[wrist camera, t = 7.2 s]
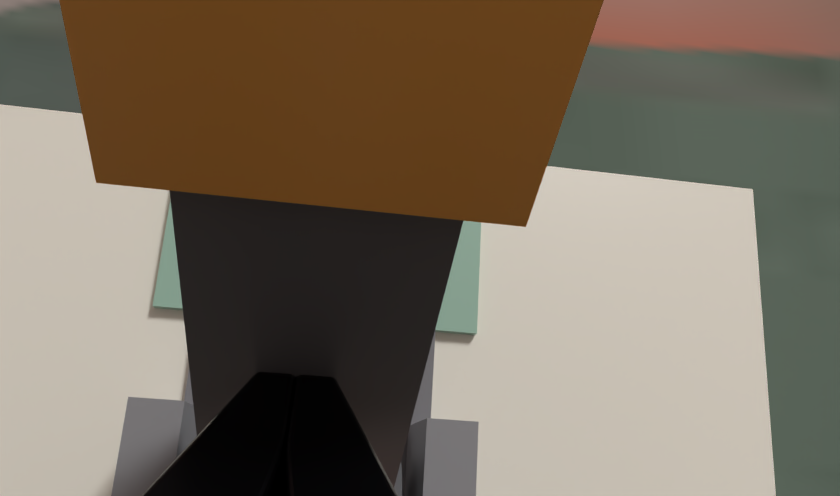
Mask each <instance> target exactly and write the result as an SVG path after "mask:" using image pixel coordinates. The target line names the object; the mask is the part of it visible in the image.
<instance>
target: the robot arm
mask: <svg viewBox="0 0 840 496" xmlns="http://www.w3.org/2000/svg"><path fill="white" fill-rule="evenodd" d="M141 496H398V494H397V493H396V491H395V489H394V487H393V485H392V483H391V481H390V480H389V478H388V476H387V474H386V472H385V470H384V468H383V466H382V465H381V463H380V461H379V459H378V457H377V455H376V453H375V452H374V450H373V448H372V446H371V444H370V442H369V440H368V438H367V437H366V435H365V433H364V431H363V429H362V427H361V425H360V424H359V422H358V420H357V418H356V416H355V414H354V412H353V410H352V409H351V407H350V405H349V403H348V401H347V399H346V397H345V396H344V394H343V392H342V390H341V388H340V386H339V384H338V383H337V381H336V379H335V378H333V377H327V376H314V375H299V376H298V377H297V378H296V379H295V377H294V376H293V375H291V374H286V373H271V372H258V373H256V374H255V375H253V377H252V378H251V379H250V380H249V381H248V382H247V383H246V384H245V385H244V386H243V387H242V388H241V389H240V390H239V392H238V393H237V394H236V395H235V396H234V397H233V398H232V399H231V400H230V401H229V402H228V403H227V404H226V405H225V407H224V408H223V409H222V410H221V411H220V412H219V413H218V414H217V415H216V416H215V417H214V418H213V419H212V420H211V422H210V423H209V424H208V425H207V426H206V427H205V428H204V429H203V430H202V431H201V432H200V433H199V434H198V435H197V437H196V438H195V439H194V440H193V441H192V442H191V443H190V444H189V445H188V446H187V447H186V448H185V449H184V450H183V451H182V453H181V454H180V455H179V456H178V457H177V458H176V459H175V460H174V461H173V462H172V463H171V464H170V465H169V466H168V468H167V469H166V470H165V471H164V472H163V473H162V474H161V475H160V476H159V477H158V478H157V479H156V480H155V481H154V483H153V484H152V485H151V486H150V487H149V488H148V489H147V490H146V491H145V492H144V493H143V494H142V495H141Z"/></svg>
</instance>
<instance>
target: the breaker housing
mask: <svg viewBox="0 0 840 496" xmlns="http://www.w3.org/2000/svg"><path fill="white" fill-rule="evenodd" d="M196 437H197V433H196V424H195V415H194V406H193V397H192V388H191V379H190V370H189V361H188V352H187V343H186V334H185V325H184V316H183V307H182V298H181V289H180V280H179V271H178V263H177V254H176V245H175V236H174V227H173V218H172V209H171V200H170V191H169V190H161V189H151V188H141V187H132V186H122V185H112V184H102V183H96V180H95V175H94V170H93V165H92V160H91V155H90V150H89V145H88V140H87V135H86V130H85V125H84V120H83V115H82V114H80V113H71V112H62V111H53V110H44V109H36V108H27V107H18V106H9V105H0V496H141V495H142V494H143V493H144V492H145V491H146V490H147V489H148V488H149V487H150V486H151V485H152V484H153V483H154V481H155V480H156V479H157V478H158V477H159V476H160V475H161V474H162V473H163V472H164V471H165V470H166V469H167V468H168V466H169V465H170V464H171V463H172V462H173V461H174V460H175V459H176V458H177V457H178V456H179V455H180V454H181V453H182V451H183V450H184V449H185V448H186V447H187V446H188V445H189V444H190V443H191V442H192V441H193V440H194V439H195V438H196ZM401 465H402V496H776V492H775V479H774V466H773V452H772V439H771V426H770V412H769V399H768V386H767V373H766V359H765V346H764V333H763V319H762V306H761V293H760V279H759V266H758V253H757V240H756V226H755V213H754V200H753V189H745V188H736V187H728V186H719V185H710V184H701V183H692V182H683V181H674V180H666V179H657V178H648V177H639V176H630V175H621V174H612V173H603V172H595V171H586V170H577V169H568V168H559V167H550V166H547V167H546V170H545V173H544V176H543V179H542V182H541V185H540V188H539V190H538V193H537V196H536V199H535V202H534V205H533V208H532V211H531V214H530V217H529V220H528V223H527V225H526V227H521V226H511V225H502V224H492V223H482V222H472V221H463V224H462V228H461V232H460V236H459V240H458V244H457V248H456V251H455V255H454V259H453V263H452V267H451V271H450V274H449V278H448V282H447V286H446V290H445V294H444V298H443V301H442V305H441V309H440V313H439V317H438V321H437V324H436V328H435V332H434V336H433V340H432V344H431V348H430V351H429V355H428V359H427V363H426V367H425V371H424V374H423V378H422V382H421V386H420V390H419V394H418V398H417V401H416V405H415V409H414V413H413V417H412V421H411V424H410V428H409V432H408V436H407V440H406V444H405V448H404V451H403V455H402V459H401Z"/></svg>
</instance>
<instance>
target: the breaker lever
mask: <svg viewBox="0 0 840 496" xmlns="http://www.w3.org/2000/svg"><path fill="white" fill-rule="evenodd" d="M59 1H60V5H61V10H62V16H63V20H64V25H65V30H66V35H67V40H68V45H69V50H70V55H71V60H72V65H73V70H74V75H75V80H76V85H77V90H78V95H79V100H80V105H81V110H82V115H83V120H84V125H85V130H86V135H87V140H88V145H89V150H90V155H91V160H92V165H93V170H94V175H95V180H96V183H102V184H112V185H122V186H132V187H141V188H151V189H161V190H169V191H170V200H171V209H172V218H173V227H174V236H175V245H176V254H177V263H178V271H179V280H180V289H181V298H182V307H183V316H184V325H185V334H186V343H187V352H188V361H189V370H190V379H191V388H192V397H193V406H194V415H195V424H196V433H197V435H198V434H199V433H200V432H201V431H202V430H203V429H204V428H205V427H206V426H207V425H208V424H209V423H210V422H211V420H212V419H213V418H214V417H215V416H216V415H217V414H218V413H219V412H220V411H221V410H222V409H223V408H224V407H225V405H226V404H227V403H228V402H229V401H230V400H231V399H232V398H233V397H234V396H235V395H236V394H237V393H238V392H239V390H240V389H241V388H242V387H243V386H244V385H245V384H246V383H247V382H248V381H249V380H250V379H251V378H252V377H253V375H255V374H256V373H258V372H271V373H286V374H291V375H293V376H294V377H295V379H296V378H297V377H298V376H299V375H314V376H327V377H333V378H335V379H336V381H337V383H338V384H339V386H340V388H341V390H342V392H343V394H344V396H345V397H346V399H347V401H348V403H349V405H350V407H351V409H352V410H353V412H354V414H355V416H356V418H357V420H358V422H359V424H360V425H361V427H362V429H363V431H364V433H365V435H366V437H367V438H368V440H369V442H370V444H371V446H372V448H373V450H374V452H375V453H376V455H377V457H378V459H379V461H380V463H381V465H382V466H383V468H384V470H385V472H386V474H387V476H388V478H389V480H390V481H391V483H392V485H393V487H394V489H395V491H396V493H397V494H398V496H402V465H401V459H402V455H403V451H404V448H405V444H406V440H407V436H408V432H409V428H410V424H411V421H412V417H413V413H414V409H415V405H416V401H417V398H418V394H419V390H420V386H421V382H422V378H423V374H424V371H425V367H426V363H427V359H428V355H429V351H430V348H431V344H432V340H433V336H434V332H435V328H436V324H437V321H438V317H439V313H440V309H441V305H442V301H443V298H444V294H445V290H446V286H447V282H448V278H449V274H450V271H451V267H452V263H453V259H454V255H455V251H456V248H457V244H458V240H459V236H460V232H461V228H462V224H463V221H472V222H482V223H492V224H502V225H511V226H521V227H526V225H527V223H528V220H529V217H530V214H531V211H532V208H533V205H534V202H535V199H536V196H537V193H538V190H539V188H540V185H541V182H542V179H543V176H544V173H545V170H546V167H547V164H548V161H549V158H550V155H551V153H552V150H553V147H554V144H555V141H556V138H557V135H558V132H559V129H560V126H561V123H562V120H563V117H564V115H565V112H566V109H567V106H568V103H569V100H570V97H571V94H572V91H573V88H574V85H575V82H576V80H577V77H578V74H579V71H580V68H581V65H582V62H583V59H584V56H585V53H586V50H587V47H588V45H589V42H590V39H591V36H592V33H593V30H594V27H595V24H596V21H597V18H598V15H599V12H600V9H601V6H602V4H603V1H604V0H59Z"/></svg>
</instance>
